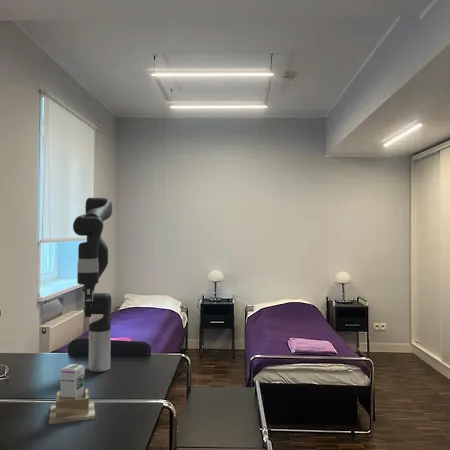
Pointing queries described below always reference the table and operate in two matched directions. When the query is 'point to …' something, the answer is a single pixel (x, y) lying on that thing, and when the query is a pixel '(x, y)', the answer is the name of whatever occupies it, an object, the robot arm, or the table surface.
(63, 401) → the wooden square holder
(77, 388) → the syrup box
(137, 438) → the table surface
